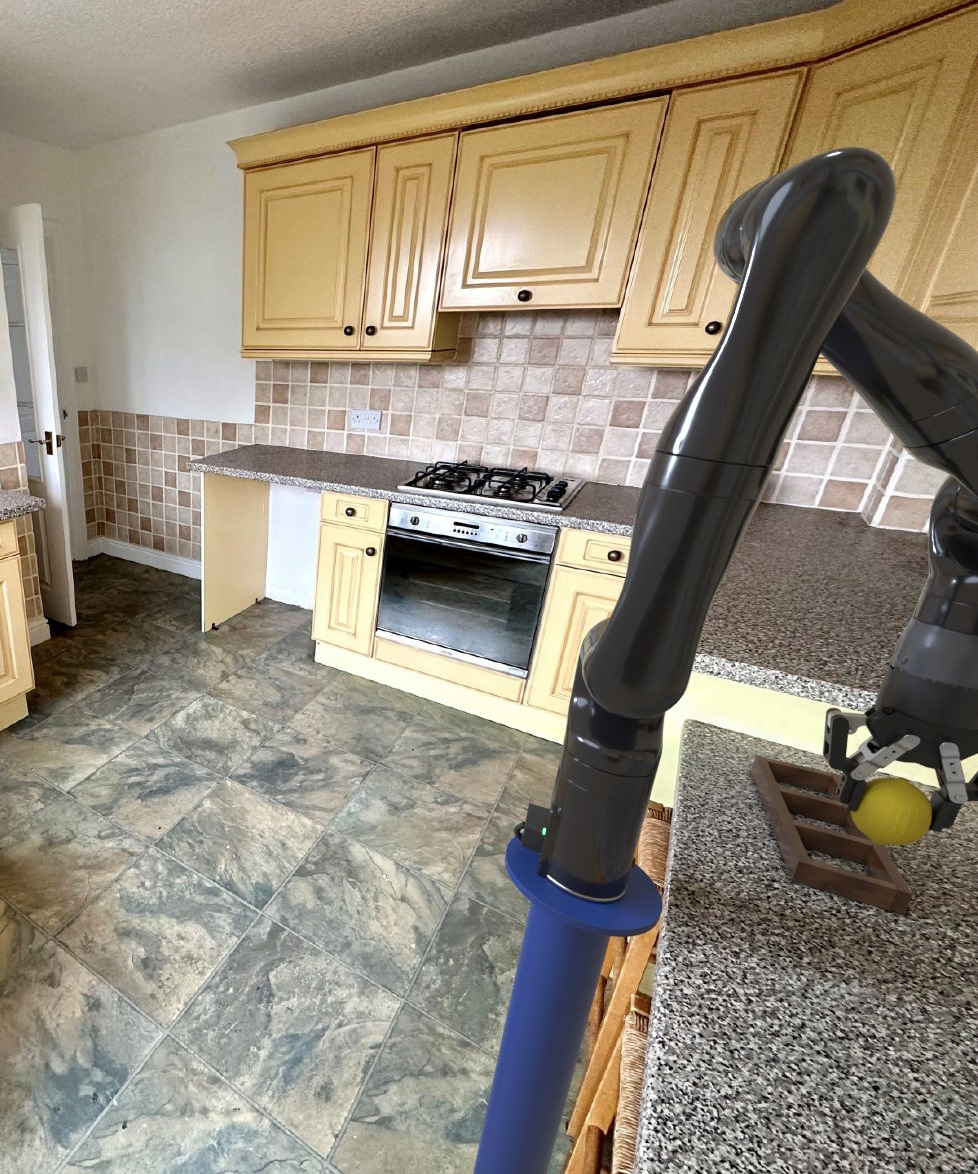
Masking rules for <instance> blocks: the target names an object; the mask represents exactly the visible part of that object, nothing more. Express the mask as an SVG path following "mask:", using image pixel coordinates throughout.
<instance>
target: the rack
mask: <svg viewBox="0 0 978 1174" xmlns="http://www.w3.org/2000/svg"><path fill="white" fill-rule="evenodd" d="M750 773H751V774H750V775H751V777H752V779H753V782H754V784H755V787H756V789H757V792H758V795H759V797H760V800H761V804H762V805H763V808H764V811H765V814H766V816H767V818H768V822H769V824H770V826H771V830H772V832H773V835H774V837H775V840H776V843H777V846H778V849H779V851H780V853H781V856H782V859H783V862H784V864H785V866H786V869H787V872H788V875H789V877H790V880H791V882H794V883H797V884H801V885H804V886H806V887H807V886H808V887H811V888H814V889H816V890H817V889H818V890H821V891H824V892H827V893H830V894H834V895H837V896H841V897H844V898H847V899H850V900H853V901H858V902H861V903H864V904H868V905H871V906H874V907H877V908H879V909H884V910H887V911H889V912H894V913H897V914H901V915H905V913H906V911H907V909H908V906H909V904H910V902H911V900H912V897H913V895H914V894H913V893H912V891H911V888H910V887H909V886H908V884H907V882H906V880H905V879H904V877H903V876H902V874H901V872H900V871H899V869H898V867H897V866H896V864H895V862H894V860H893V859H892V857H891V856H890V854H889V852H888V850H887V849H886V847H885V846H884V845H877V844H875V843H874V842H873V841H872V840H871V839H870V837H868V836H866V835H865V834H864V833H863V832H861V831H860V830H859V829H858V827H857V826H856V825H855V823H854V822H853V819H852V815H851V810H847V809H845V808H844V806H843V804H842V803H841V802H840V801H839V799H838V797H837V795H836V789H837V787H838V784H839V781H840V778H841V776H842V774H838V773H834V772H829V771H825V770H822V769H816V768H812V767H808V766H804V765H799V764H795V763H791V762H787V761H783V760H779V759H774V758H769V757H765V756H762V755H761V756H760V755H757V754H756V755H755V756H754V760H753V763H752V766H751V769H750ZM777 782H779V783H783V784H788V785H791V786H796V787H799V788H802V789H803V788H804V789H807V790H810V791H816V792H819V793H824V794H826V795H827V796H828V798H827V797H824V796H823V797H822V796H818V795H815V794H811V793H807V792H802V791H799V790H795V789H790V788H787V787H782V786H778V783H777ZM790 813H794V814H797V815H800V816H804V817H808V818H811V819H815V820H820V821H824V822H828V823H831V824H835V825H838V826H843V827H844V829H845V830H846V832H847V833H843V832H840V831H837V830H833V829H829V828H826V827H821V826H817V825H814V824H810V823H808V822H807V823H806V822H802V821H799V820H796V819H793V818H792V816H791V814H790ZM806 849H807V850H811V851H815V852H819V853H822V854H826V855H829V856H831V857H836V858H841V859H842V860H843V859H844V860H847V861H850V862H854V863H858V864H861V865H865V867H866V869H867V871H868V873H869V875H870V876H869V875H866V874H862V873H859V872H855V871H851V870H849V869H844V868H841V867H838V866H835V865H831V864H827V863H824V862H820V861H817V860H814V859H810V858H809V856H808V853H807V851H806Z"/></svg>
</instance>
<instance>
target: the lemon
mask: <svg viewBox="0 0 978 1174" xmlns="http://www.w3.org/2000/svg"><path fill="white" fill-rule="evenodd" d="M866 782H867V785H866V788H865V790H864V793H863V795H862V798H861V800H860V803H859V805H858V808H857V810H856V811H851V815H852V819H853V822H854V823H855V825H856V826H857V827H858V829H859V830H860V831H861V832H863V833H864V834H865V835H866V836H868V837H870V839H871V840H872V841H873V842H874V843H875V844H877V845H883V846H884V845H889V846H899V847H900V846H907V845H911V844H915V843H916V842H918V841H919V840H920V839H921V838H923V837H924V836H925V835H926V834H927V832H928V831H929V827H930V824H931V819H932V808H931V803H930V799H929V798H928V797H927V795H926V794H925V793H924V792H923V791H922V790H921V789H920V788H918V787H917V786H916V785H914V784H912V783H910V781H909V780H908V779H906V778H904V777H897V778H895V777H879V778H878V777H877V778H874V779H871V780H868V781H866Z"/></svg>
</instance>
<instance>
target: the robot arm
mask: <svg viewBox="0 0 978 1174" xmlns="http://www.w3.org/2000/svg"><path fill="white" fill-rule="evenodd" d="M896 182H897V181H896V178H895V174H894V171H893V169H892V168H891V166H890V164H889V162H888V161H887V160H886V159H885V158H884V157H883V156H882V155H881V154H880V153H879V152H876V151H874V150H872V149H869V148H866V147H862V146H861V147H860V146H845V147H838V148H835V149H831V150H827V151H824V152H821V153H818V154H815V155H813V156H810V157H808V158H805V159H803V160H801V161H799V162H797V163H795V164H792V165H791V166H789V167H787V168H786V169H783V170H781V171H779V172H777V173H776V174H774V175H771V176H769V177H767V178H766V179H763V180H762V181H760V182H757V184H755V185H752V187H750V188H748V189H747V190H745V191H744V192H742V193H741V194H740V195H739V196H737V198H735V199H734V201H733V202H731V203H730V205H729V206H728V207H727V208H726V210H725V211H724V212H723V213H722V215H721V217H720V219H719V221H718V222H717V225H716V228H715V231H714V234H713V239H712V250H713V251H712V252H713V256H714V260H715V262H716V264H717V266H718V269H720V271H721V272H722V273H723V274H724V275H725V276H726V277H727V278H728V279H729V280H731V281H732V282H733V283H735V284H736V285H737V286H738V289H737V292H736V296H735V299H734V302H733V305H732V308H731V311H730V315H729V318H728V320H727V323H726V325H725V328H724V331H723V333H722V335H721V337H720V339H719V341H718V344H717V345H716V347H715V348H714V351H713V352H712V354H711V355H710V357H709V359H708V361H707V362H706V363H705V365H704V366H703V368H702V369H701V371H700V372H699V373H698V375H697V376H696V378H695V379H694V380H693V381H692V384H691V385H690V386H689V387H688V389H687V390H686V392H685V393H684V394H683V396H682V398H681V399H680V400H679V402H678V404H677V406H676V407H675V408H674V410H673V411H672V413H671V415H670V416H669V418H668V419H667V421H666V423H665V425H664V427H663V428H662V430H661V433H660V434H659V438H658V439H657V442H656V445H655V446H654V450H653V453H652V455H651V458H650V462H649V464H648V467H647V470H646V473H645V476H644V479H643V482H642V485H641V489H640V492H639V497H638V500H637V504H636V508H635V514H634V519H633V524H632V529H631V530H632V531H631V537H630V545H629V552H628V559H627V568H626V573H625V577H624V581H623V584H622V588H621V592H620V593H619V596H618V599H617V601H616V604H615V605H614V608H613V610H612V612H611V614H610V616H609V617H607V618H605V619H602V620H601V621H599V622H597V623H596V624H594V625H593V626H592V628H590V629H589V631H588V632H587V633H586V635H585V636H584V638H583V640H582V643H581V646H580V648H579V653H578V658H577V663H576V666H575V673H574V679H573V682H572V689H571V693H570V699H569V702H568V709H567V717H566V723H565V731H564V732H565V733H564V736H563V743H562V748H561V753H560V758H559V761H558V765H557V771H556V776H555V780H554V785H553V786H552V789H551V793H550V799H549V803H548V807H546V806H545V807H544V806H541V805H538V804H536V803H531V802H529V803H528V806H527V811H526V817H525V821H521V822H520V823H517V824H516V825H514V828H513V833H514V837H515V836H516V837H517V838H518V840H519V841H520V842H521V847H524V848H527V849H530V850H533V851H536V852H539V855H538V860H537V862H538V865H537V873H536V874H537V875H538V876H540V877H542V878H545V879H547V880H548V881H549V882H550V883H551V884H553V885H554V886H555V887H557V888H558V889H560V890H561V891H563V892H565V893H566V894H568V895H570V896H573V897H575V898H577V899H580V900H583V901H587V902H591V903H597V904H610V903H615V902H617V901H619V900H621V899H622V898H623V897H624V895H625V892H626V889H627V883H628V879H629V873H630V870H631V866H632V867H633V869H634V865H635V863H636V861H637V859H636V857H635V855H636V851H637V847H638V844H639V839H640V836H641V833H642V829H643V825H644V821H645V818H646V814H647V811H648V807H649V803H650V800H651V795H652V792H653V788H654V785H655V782H656V777H657V773H658V770H659V767H660V762H661V759H662V754H663V749H664V748H663V747H664V727H665V719H666V712H668V711H669V710H671V709H672V708H673V707H675V705H677V704H678V703H679V701H680V700H681V699H682V698H683V697H684V695H685V693H686V691H687V689H688V687H689V683H690V680H691V675H692V672H693V669H694V668H693V667H694V663H695V660H696V657H697V652H698V649H699V645H700V642H701V638H702V635H703V631H704V627H705V623H706V620H707V617H708V615H709V611H710V608H711V605H712V604H713V600H714V598H715V596H716V594H717V592H718V590H719V588H720V585H721V584H722V582H723V580H724V578H725V577H726V575H727V572H728V570H729V569H730V566H731V565H732V563H733V560H734V558H735V556H736V554H737V552H738V550H739V548H740V545H741V543H742V541H743V539H744V537H745V534H746V532H747V530H748V528H749V526H750V523H751V521H752V519H753V517H754V515H755V513H756V511H757V509H758V507H759V505H760V503H761V500H762V497H763V495H764V493H765V490H766V488H767V485H768V483H769V481H770V479H771V476H772V473H773V471H774V469H775V466H776V465H777V462H778V458H779V457H780V453H781V451H782V448H783V445H784V443H785V439H786V437H787V435H788V432H789V430H790V428H791V425H792V423H793V420H794V418H795V416H796V414H797V411H798V409H799V407H800V405H801V403H802V400H803V397H804V396H805V392H806V390H807V388H808V385H809V383H810V380H811V377H812V375H813V372H814V370H815V367H816V364H817V363H818V360H819V357H820V356H822V357H823V358H824V359H825V360H826V361H827V362H828V363H829V364H830V365H831V366H832V367H833V368H834V369H835V371H837V373H839V374H840V375H841V377H842V378H844V380H846V382H847V383H848V384H849V385H850V386H851V387H852V389H854V390H855V392H856V393H857V394H858V395H859V397H860V398H861V399H862V400H863V401H864V403H866V404H867V406H868V407H869V409H870V410H871V411H872V412H873V414H874V415H876V417H877V418H878V419H879V420H880V422H881V423H882V424H883V425H884V427H885V428H886V429H887V430H888V431H889V433H890V434H891V435H892V436H893V437H894V439H896V441H897V442H898V443H899V444H900V446H901V447H902V448H903V449H904V450H905V451H906V452H907V453H908V454H909V455H910V456H911V457H912V458H914V459H915V460H916V461H918V462H919V463H921V464H923V465H925V466H928V467H930V468H933V469H935V470H939V471H941V472H944V473H946V474H947V475H948V476H947V477H946V478H945V480H944V481H943V482H942V483H941V485H940V486H939V488H938V489H937V491H936V492H935V495H934V497H933V500H932V503H931V507H930V512H929V521H928V540H927V541H928V544H927V559H928V575H927V578H926V580H925V582H924V584H923V587H922V590H921V592H920V594H919V597H918V599H917V602H916V604H915V608H914V610H913V612H912V615H911V617H910V619H909V621H908V623H907V625H906V626H905V628H904V629H903V631H902V632H901V634H900V636H899V638H898V641H897V643H896V647H895V649H894V651H893V653H892V657H891V659H890V662H889V665H888V667H887V670H886V673H885V675H884V677H883V679H882V682H881V685H880V688H879V691H878V693H877V696H876V699H875V702H874V704H873V705H872V706H871V707H870V708H869V709H867V710H866V711H865V712H864V713H857V712H846V711H845V712H844V711H842V710H841V709H840V708H837V707H830V708H827V709H826V711H825V720H824V731H823V732H824V733H823V743H822V745H823V746H822V755H823V757H824V759H825V760H826V761H827V764H828V765H829V767H830V768H831V769H833V770H835V771H840V772H842V773H841V778H840V781H839V784H838V787H837V789H836V795H837V797H838V799H839V801H840V802H841V803H842V804H843V806H844V808H845V809H847V810H851V811H856V810H857V808H858V805H859V803H860V800H861V798H862V795H863V793H864V790H865V788H866V785H867V782H868V781H866V779H867V778H868V777H870V776H871V775H872V774H874V773H875V772H876V771H878V770H879V769H884V768H886V767H888V766H890V765H891V764H892V763H893V762H895V761H896V762H900V763H906V764H907V763H908V764H917V765H920V766H922V767H925V768H927V769H933V770H934V772H935V775H936V779H937V784H938V787H939V789H936V788H935V789H933V792H932V794H931V797H930V799H929V801H930V803H931V808H932V819H931V824H930V827H929V829H928V831H932V832H936V833H941V832H942V831H943V829H947V830H949V829H950V828H951V827H953V825H954V824H955V821H956V819H957V817H958V814H959V812H960V810H961V808H962V806H963V805H964V804H965V803H967V802H978V770H977V771H976V772H975V773H974V774H973V776H972V777H971V778H970V780H968V782H966V778H965V774H964V773H965V772H964V768H963V765H962V761H964V760H967V759H969V758H972V757H974V756H976V755H978V350H977V349H976V348H975V347H973V345H971V344H970V343H968V342H967V341H966V340H965V339H964V338H963V337H961V336H959V335H958V334H956V333H955V332H953V331H952V330H951V329H949V328H947V327H946V326H945V325H943V324H941V323H940V322H938V321H937V320H935V319H933V318H932V317H930V316H928V315H927V314H925V313H924V312H922V311H921V310H919V309H917V308H916V307H914V306H912V305H911V304H909V303H908V302H907V301H905V300H904V299H902V298H901V297H899V296H898V295H896V294H895V293H894V292H892V291H891V290H890V289H889V288H888V287H886V286H885V284H883V283H882V282H881V281H880V280H879V279H878V278H876V276H875V275H874V274H873V273H872V272H871V271H870V269H868V265H869V263H870V261H871V259H872V257H873V256H874V254H875V252H876V250H877V248H878V246H879V245H880V243H881V241H882V239H883V237H884V235H885V232H886V231H887V228H888V226H889V224H890V221H891V218H892V217H893V216H892V215H893V212H894V207H895V203H896V199H897V183H896ZM860 727H866V728H867V730H868V732H869V733H870V736H869V737H867V738H866V739H865V740H864V741H863V742H862V743H861V744H859V746H858V749H857V750H856V751H855V752H854V753H852V754H851V755H850V756H847V751H848V750H847V749H848V741H849V735H851V736H852V735H854V734H856V733H857V731H858V729H859V728H860ZM521 831H523V836H522V834H521V833H522V832H521Z"/></svg>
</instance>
